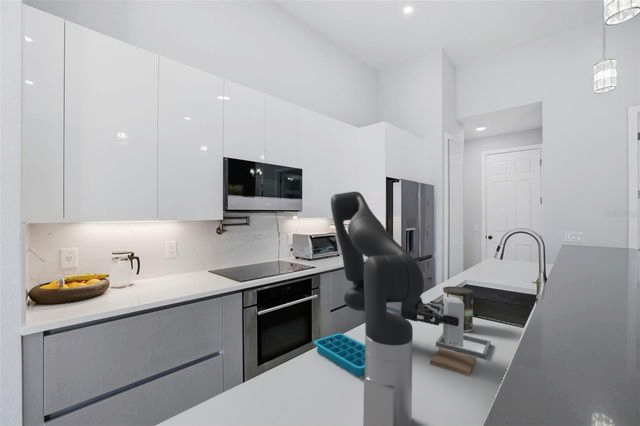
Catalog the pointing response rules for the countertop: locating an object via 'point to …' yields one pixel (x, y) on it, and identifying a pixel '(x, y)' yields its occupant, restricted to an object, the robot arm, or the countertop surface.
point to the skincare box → (450, 332)
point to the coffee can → (466, 298)
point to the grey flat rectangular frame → (466, 351)
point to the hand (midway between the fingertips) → (461, 318)
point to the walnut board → (453, 361)
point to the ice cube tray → (343, 352)
